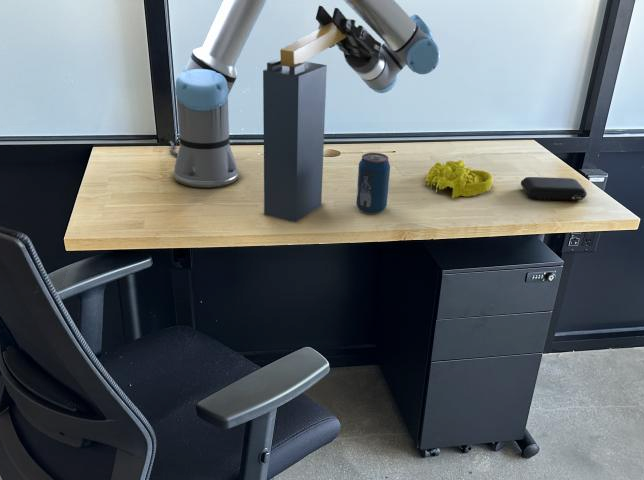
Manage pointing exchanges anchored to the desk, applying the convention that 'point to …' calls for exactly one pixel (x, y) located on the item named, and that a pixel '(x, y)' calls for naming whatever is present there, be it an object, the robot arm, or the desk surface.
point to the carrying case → (553, 188)
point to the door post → (293, 138)
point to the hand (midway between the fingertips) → (326, 13)
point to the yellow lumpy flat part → (459, 178)
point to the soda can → (373, 183)
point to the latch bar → (311, 45)
